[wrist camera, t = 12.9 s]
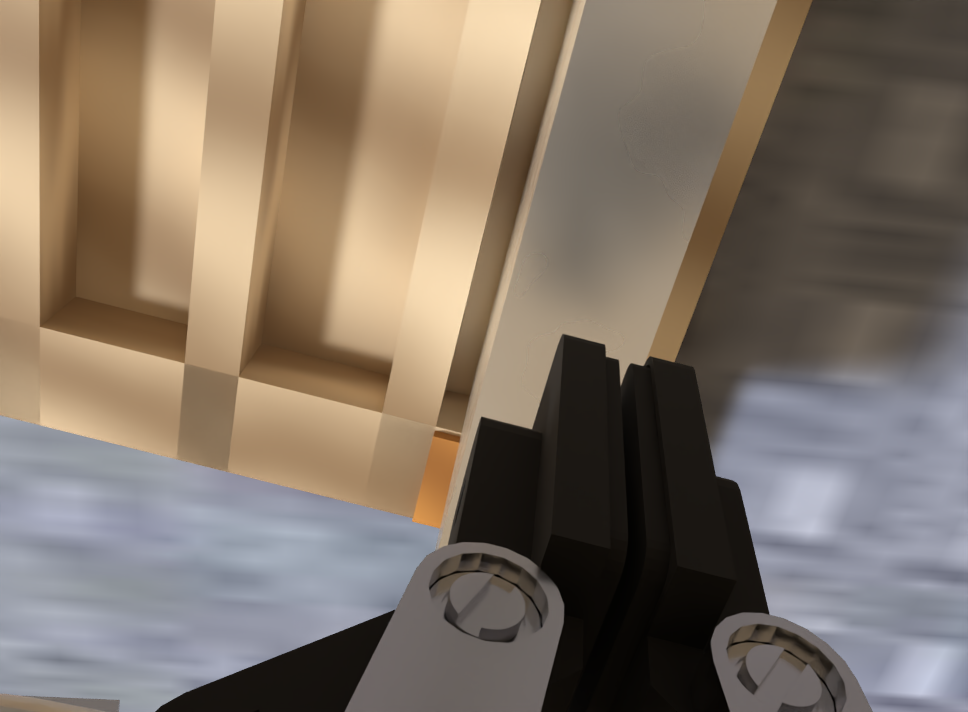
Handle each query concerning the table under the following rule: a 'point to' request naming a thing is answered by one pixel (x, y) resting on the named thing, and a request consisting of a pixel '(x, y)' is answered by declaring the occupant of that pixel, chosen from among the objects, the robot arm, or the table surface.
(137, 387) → the rack
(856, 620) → the table surface
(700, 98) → the blanking panel
